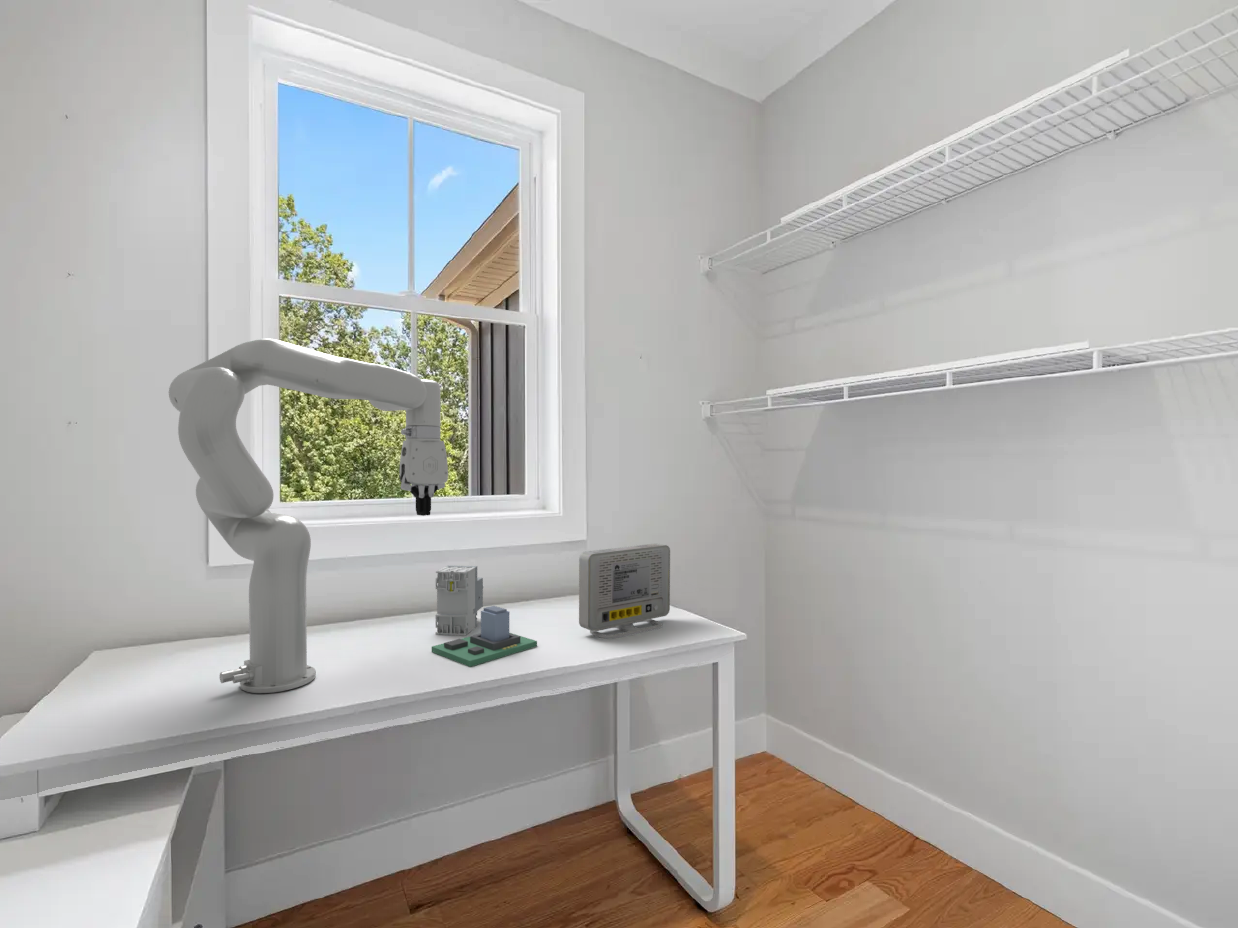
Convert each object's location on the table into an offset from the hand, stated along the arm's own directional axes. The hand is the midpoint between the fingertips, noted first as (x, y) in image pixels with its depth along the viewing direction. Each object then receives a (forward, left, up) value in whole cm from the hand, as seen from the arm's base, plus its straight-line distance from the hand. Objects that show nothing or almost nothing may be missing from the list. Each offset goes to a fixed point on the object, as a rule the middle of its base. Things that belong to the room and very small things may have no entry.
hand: (423, 514), depth 144 cm
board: (+6, -15, -29) cm, 33 cm away
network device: (+39, -28, -29) cm, 56 cm away
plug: (+8, -16, -28) cm, 33 cm away
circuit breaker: (+13, +4, -29) cm, 32 cm away
